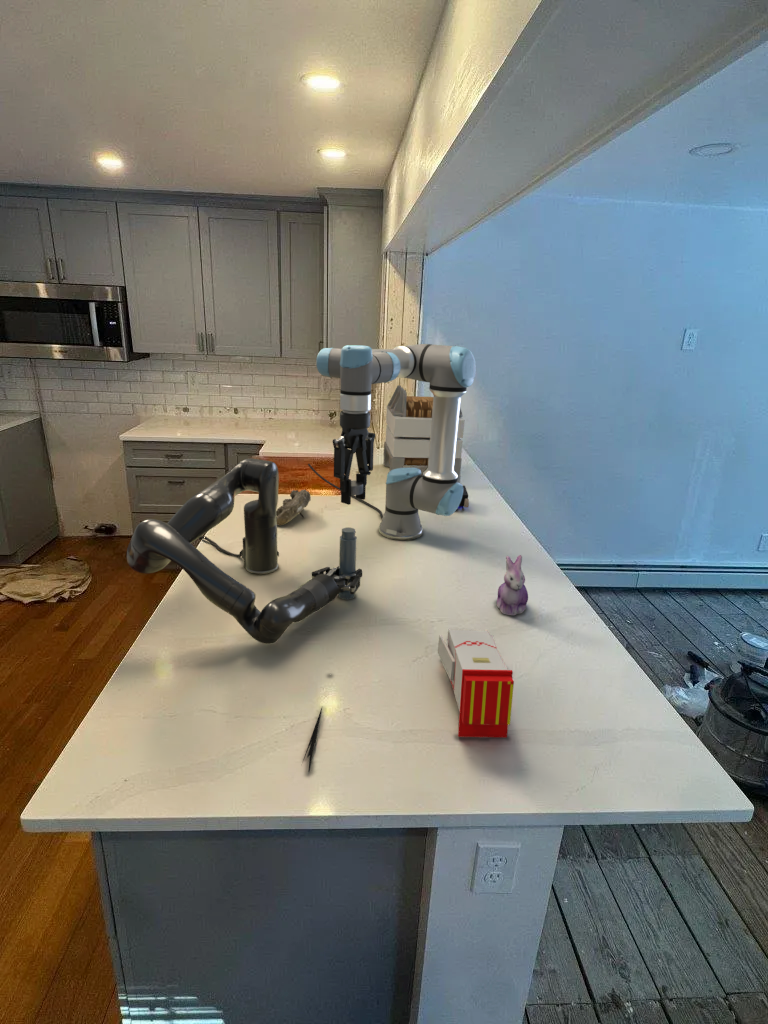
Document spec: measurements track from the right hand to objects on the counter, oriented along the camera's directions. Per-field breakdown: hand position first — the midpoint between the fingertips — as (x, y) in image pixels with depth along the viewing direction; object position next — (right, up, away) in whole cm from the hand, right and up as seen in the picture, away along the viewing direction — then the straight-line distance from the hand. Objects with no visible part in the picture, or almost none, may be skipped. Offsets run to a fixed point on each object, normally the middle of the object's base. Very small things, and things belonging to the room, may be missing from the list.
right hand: (353, 500), depth 147 cm
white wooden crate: (+25, +16, +128) cm, 131 cm away
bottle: (-2, -26, +9) cm, 27 cm away
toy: (+26, -41, -29) cm, 56 cm away
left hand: (-1, -19, +8) cm, 21 cm away
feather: (-4, -43, -38) cm, 58 cm away
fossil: (-26, -5, +64) cm, 69 cm away
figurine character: (+38, -1, +83) cm, 91 cm away
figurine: (+43, -29, +6) cm, 52 cm away
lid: (0, +4, -2) cm, 4 cm away
